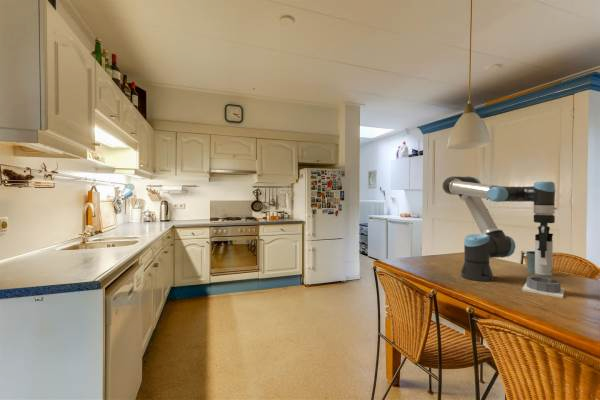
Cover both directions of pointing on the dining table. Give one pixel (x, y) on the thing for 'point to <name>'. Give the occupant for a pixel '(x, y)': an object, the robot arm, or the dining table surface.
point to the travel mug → (547, 269)
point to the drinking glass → (531, 261)
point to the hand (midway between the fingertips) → (543, 263)
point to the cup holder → (544, 286)
